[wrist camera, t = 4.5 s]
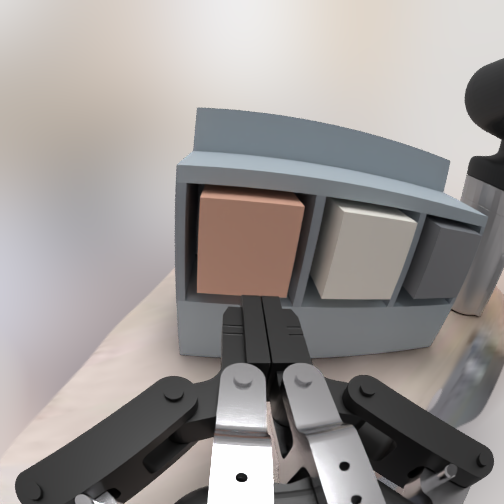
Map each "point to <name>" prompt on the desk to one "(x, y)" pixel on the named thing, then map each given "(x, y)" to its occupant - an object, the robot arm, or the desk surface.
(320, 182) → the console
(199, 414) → the robot arm
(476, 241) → the charcoal key
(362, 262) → the cream key
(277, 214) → the terracotta key
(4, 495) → the desk surface
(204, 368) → the desk surface
